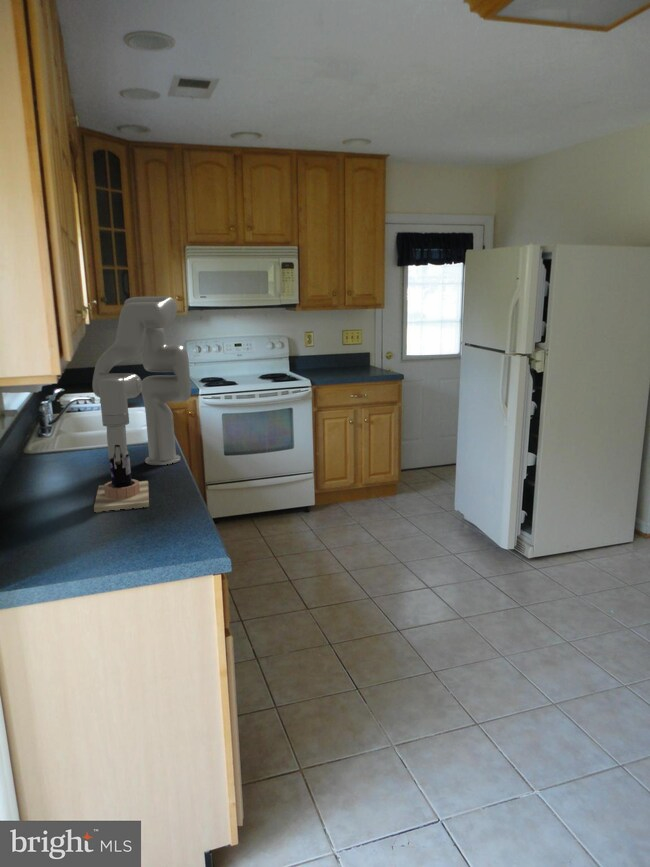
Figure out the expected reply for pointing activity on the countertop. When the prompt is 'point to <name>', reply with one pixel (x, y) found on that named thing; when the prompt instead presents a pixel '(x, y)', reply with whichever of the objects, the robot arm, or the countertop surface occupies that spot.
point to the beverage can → (128, 473)
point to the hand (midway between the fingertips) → (121, 477)
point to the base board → (122, 500)
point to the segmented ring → (122, 490)
